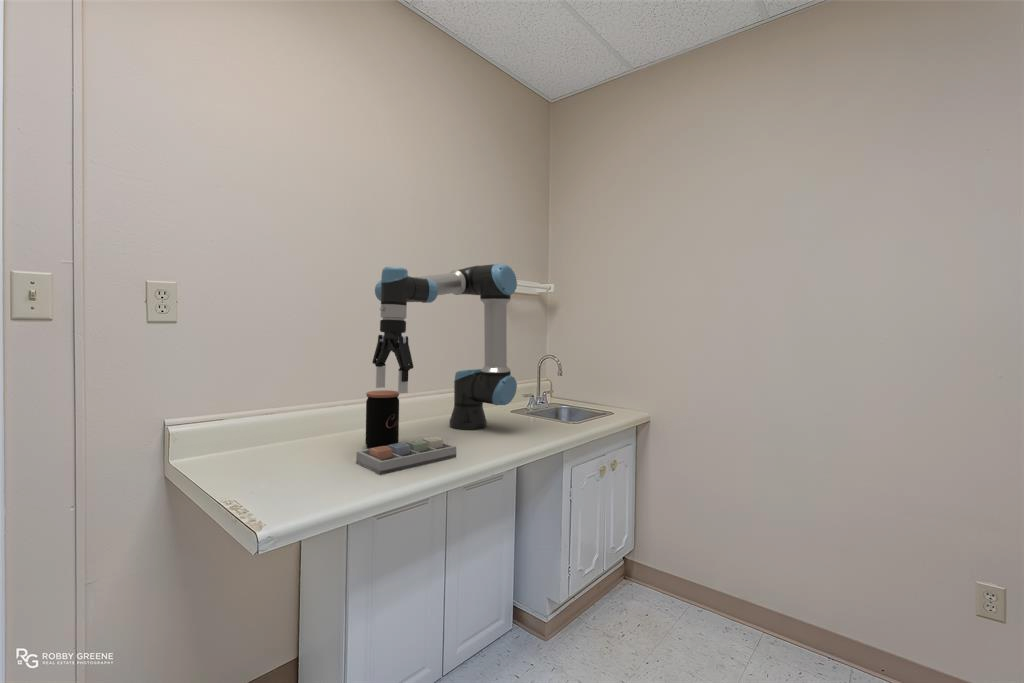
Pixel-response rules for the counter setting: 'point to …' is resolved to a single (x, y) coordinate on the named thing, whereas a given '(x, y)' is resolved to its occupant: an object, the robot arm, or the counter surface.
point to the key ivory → (434, 442)
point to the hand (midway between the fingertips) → (391, 390)
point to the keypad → (405, 459)
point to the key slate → (400, 448)
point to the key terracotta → (381, 452)
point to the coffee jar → (382, 418)
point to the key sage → (417, 445)
